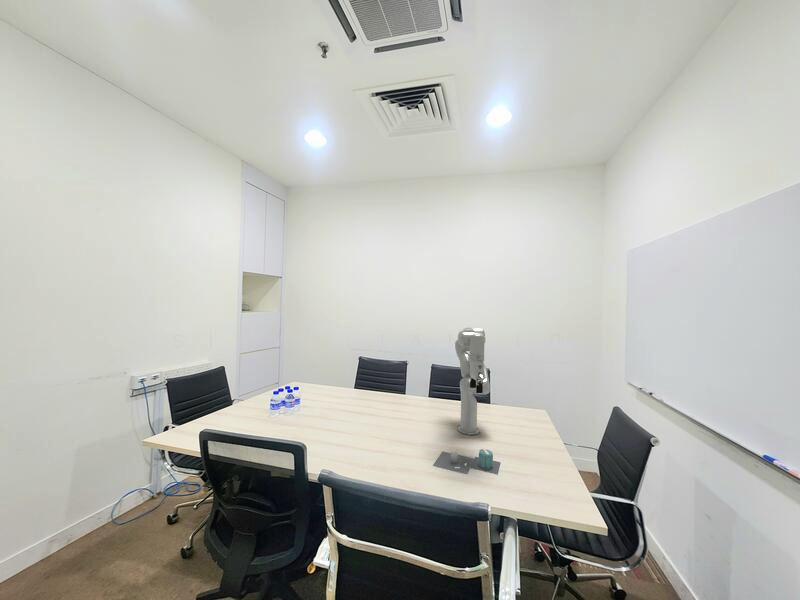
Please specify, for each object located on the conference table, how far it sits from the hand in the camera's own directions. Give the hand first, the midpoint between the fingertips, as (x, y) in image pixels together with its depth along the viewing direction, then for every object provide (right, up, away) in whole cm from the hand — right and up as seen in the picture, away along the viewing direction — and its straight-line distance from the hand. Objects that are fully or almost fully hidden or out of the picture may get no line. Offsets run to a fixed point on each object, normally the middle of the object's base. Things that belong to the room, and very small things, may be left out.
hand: (476, 390), depth 163 cm
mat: (0, -30, -18) cm, 35 cm away
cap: (0, -30, -18) cm, 35 cm away
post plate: (-14, -30, -16) cm, 37 cm away
